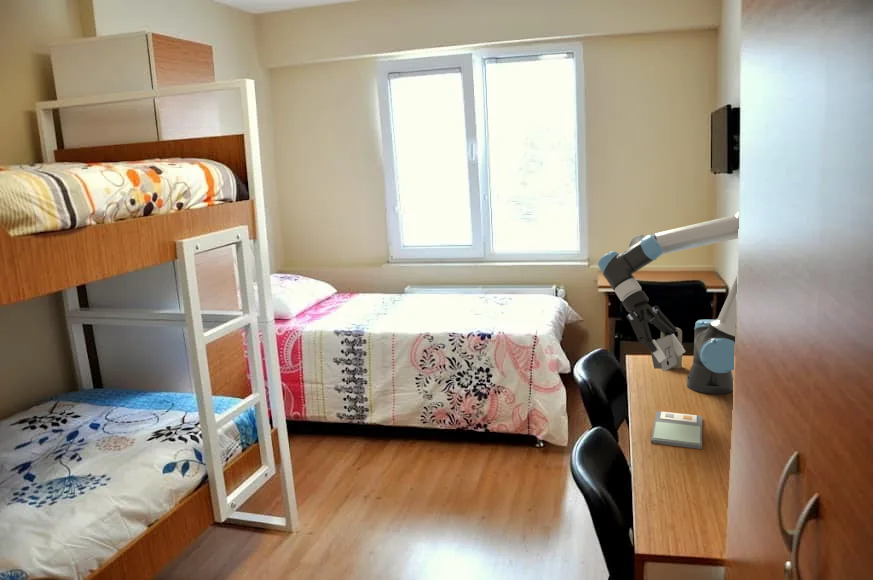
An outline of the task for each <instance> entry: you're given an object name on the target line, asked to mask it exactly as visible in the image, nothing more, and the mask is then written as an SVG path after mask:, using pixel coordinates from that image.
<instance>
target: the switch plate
mask: <svg viewBox="0 0 873 580" xmlns="http://www.w3.org/2000/svg"><path fill="white" fill-rule="evenodd" d="M653 421H654V422H653V426H652V434H651V438H650V439H651V440H650V443H651V442H653V443H652V444H656V443H660V444H659V445H666V446H673V447H674V446H675V447H682V448H689V449H690V448H691V449H699V450H703V415H696V414H688V413H681V412H680V413H678V412H668V411H659V410H656V411H655V416H654V420H653Z"/></svg>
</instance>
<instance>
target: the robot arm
mask: <svg viewBox="0 0 873 580" xmlns="http://www.w3.org/2000/svg"><path fill="white" fill-rule="evenodd" d="M739 211H740V210H737V212H736V213H735V214H733V215H729V216H725V217H720V218H716V219H712V220H707V221H703V222H702V221H701V222H698V223H694V224H690V225H685V226H682V227H677V228H673V229H667V230H664V231H659V232H656V233H651V234H646V235H644V234H642V235H640V234H639V235H637V236H635V237H633V238H632V240H631V241H630V243H629V245H628V248H627V249H625V250H624V251H622V252H621V253H619V252H617V251H616V250H612V251H610V252H607V253H605V254H604V255H603V256H601V257H600V258H599V260H598V261H597V265H598V267H599V270H600V272H601V273H602V275H603V276H604V278H605V279H606V280H607V282H608V284H609V285H610V287H611V288H612V291H614V292H615V294H616V296H617V297H618V299H619V301H621V302H622V306H623V307H624V308H625V311H626V312H628V313H629V314H627V315H626V316H625V317H626V319H627V320H628V321H629V324H630V326H631V327H632V330H633V332H634V334H635V335H636V336H635V337H636V338H637V341H638V343H639V344H641V345H642V346H647V347H648V349H649V350H651V351H650V353H651V352H652V353H653V354H654V356H655V357H656V359H657V360H658V362H659V363H660V362H662V361H663V360H665V359H666V358H667V357H666V356H665V354H664V353H663V351H662V350H661V348H660V347H659V345H658V344H657V342H656V340H655V339H653V338H652V333H651V329H650V326H649V324H651V325H653V326H654V327H656V328H657V330H658V331H660V333H661V332H663V333H664V334H665V337H666V336H667V335H671V337H672V342H673V347H674V351H675V352H676V354H677V355H678V356H680V355H682V356H683V354H684V353H686V352H687V351H686V350H685V347H684V346H683V347H682V345H683V344H682V345H681V344H680V342H679V340H678V336H676V333H677V332H676V331H677V329H676V328H677V327H676V326H675V325H674V324H673V323H672V322H671V321H670V320H669V318H668V317H667V316H666V315H665V314H664V313H663V312H662V311H661V309H660V307H659V306H658V305H654V306H653V307H652V306H651V305H650V304H649V297H648V296H647V294H646V293H645V291H644V290H642V286H641V285H640V284H639V282H638V281H637V280H636V278H635V276H634V275H633V274H635V273H636V272H638V271H639V270H641V269H642V268H644V267H646V266H647V265H649V264H651V263H652V262H653V261H655V260H657V259H658V258H659V257H661V256H662V255H663V256H664V255H667V254H673V253H676V252H677V253H678V252H681V251H685V250H691V249H695V248H699V247H704V246H709V245H712V244H713V245H714V244H719V243H724V242H726V241H728V242H729V241H731V240H736V239H737V240H738V239H739V238H738V229H739ZM736 294H737V276H736V278H735V279H734V281H733V284H732V286H731V287H730V291H729V293H728V295H727V297H726V299H725V301H724V304H723V306H722V308H721V311H720V312H719V314H718V317H717V318H716V319H698V320H697V321H696V322H695V326H694V328H693V329H694V338H693V339H694V341H693V342H694V343H693V344H694V345H693V356H692V357H693V358H692V361H693V362H692V365H691V367H690V370H689V371H688V375H687V377H686V387H688V388H689V389H691V390H693V391H696V392H699V393H705V394H711V395H712V394H713V395H721V394H724V395H726V394H729V393H733V392H734V391H733V380H734V381H735V379H734V375H733V372H732V371H734V370H735V369H734V344H735V324H736Z"/></svg>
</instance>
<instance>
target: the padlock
mask: <svg viewBox="0 0 873 580" xmlns="http://www.w3.org/2000/svg"><path fill="white" fill-rule="evenodd" d="M675 328H676V329H677V331H676V332H675V333H677V339H678V340H679V342H680V344H681V345H682V347H683V348H684V345H683V344H682V343H683V331H682V329H681V328H679V327H675ZM664 337H666V335H665V334H664V333H663V332H661V331H660V339H661V338H664ZM675 355H676V360H677V364H676V365H674V366H673V367H671V368H670V369H682V367H683V366H682V365H683V354H682V355H680V356H678V355H677V354H676V352H675Z"/></svg>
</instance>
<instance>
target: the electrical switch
mask: <svg viewBox="0 0 873 580" xmlns="http://www.w3.org/2000/svg"><path fill="white" fill-rule="evenodd" d="M655 341H656V342H657V344H658V345H659V347H660V348H661V350H662V351H663V353H664V354H665V356H666V357H667V358H666V359H665V360H663V361H662V362H660V363H659V362H658V360H657V359H656V357H655V356H654V354H653V353H652V352H651V350H650V349H649V350H650V355H651V360H652V364H653V369H654V370H655V369H658V370H659V369H661V370H662V372H667V371H668V370H669V369H672V368H671V367H673V366H674V365H676V364H677V360H676V355H675V351H674V347H673V342H672V337H671V335H667V336H666V335H665V337H664V338H661V337H660V338H657V339H656V340H655Z"/></svg>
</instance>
